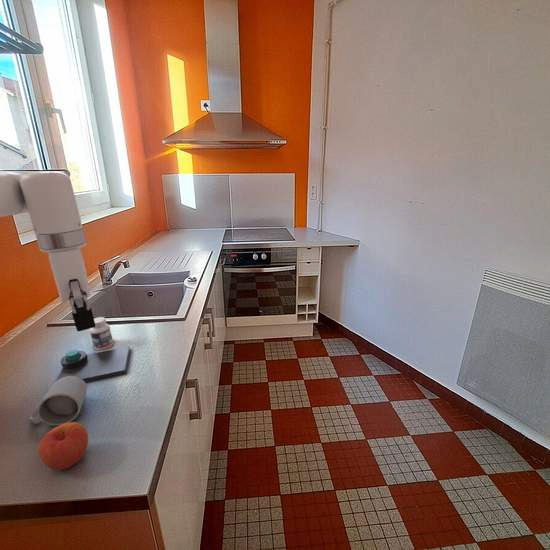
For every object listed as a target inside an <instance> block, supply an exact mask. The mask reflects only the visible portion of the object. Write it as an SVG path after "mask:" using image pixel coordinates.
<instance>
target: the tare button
mask: <svg viewBox="0 0 550 550" xmlns="http://www.w3.org/2000/svg"><path fill="white" fill-rule="evenodd" d="M79 351H80V350H78V349H73V350H70V351H67V352H66V353H65V356H66V358H67V361H74V360H76V359H78V358H80V354H79Z"/></svg>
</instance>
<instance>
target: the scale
mask: <svg viewBox="0 0 550 550" xmlns="http://www.w3.org/2000/svg"><path fill="white" fill-rule="evenodd" d="M78 351H79V354H80V358H78V359H76V360H74V361H67V358H66V355H64V356H62V358H61V359H60V365H61V367H62V369H61V370H60V372H59V374H58V376H57V379H56V380H55V382H56V381H57V380H59V379H60V378H63V377H66V376H76V377H79V378H81V379H82V380H83V381H84V382H85V383H86V384H87V383H90V382H91V383H92V382H94V381H99V380H105V379H108V378H114V377H118V376H123V375H126V374H127V368H128V363H129V358H130V353H131V348H130V346H125V347H119V348H114V349H113V348H112V349H109V350H103V351H98V352H97V351H96V352H93V353H86V351H82V350H78Z"/></svg>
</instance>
